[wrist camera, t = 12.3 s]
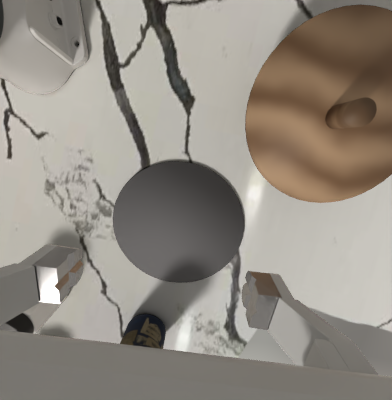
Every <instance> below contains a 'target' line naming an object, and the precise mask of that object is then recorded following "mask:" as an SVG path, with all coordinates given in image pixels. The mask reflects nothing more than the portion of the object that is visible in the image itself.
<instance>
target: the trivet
mask: <svg viewBox="0 0 392 400" xmlns="http://www.w3.org/2000/svg"><path fill="white" fill-rule="evenodd" d="M113 227H114V233H115V236H116V239H117V242H118V244H119V246H120V248H121V250H122V251H123V253H124V254H125V256H126V257H127V258H128V259H129V260H130V261H131V262H132V263H133V264H134V265H135V266H136V267H137V268H139V269H140V270H141V271H143V272H145V273H146V274H148V275H150V276H153V277H155V278H158V279H161V280H165V281H169V282H193V281H197V280H201V279H204V278H207V277H209V276H211V275H213V274H215V273H217V272H218V271H220V270H221V269H222V268H223V267H225V266H226V265H227V264H228V263H229V262H230V261H231V259H232V258H233V257H234V255H235V254H236V252H237V250H238V248H239V246H240V244H241V241H242V237H243V232H244V218H243V212H242V208H241V205H240V203H239V200H238V198H237V196H236V195H235V193H234V191H233V190H232V189H231V187H230V186H229V185H228V184H227V183H226V182H225V181H224V180H223V179H222V178H221V177H220V176H218V175H217V174H216V173H214V172H213V171H211V170H209V169H207V168H205V167H202V166H200V165H197V164H193V163H188V162H179V161H175V162H165V163H159V164H156V165H153V166H150V167H148V168H146V169H144V170H142V171H141V172H139V173H138V174H136V175H135V176H134V177H133V178H131V179H130V180H129V181H128V182H127V184H126V185H125V186H124V187H123V189H122V190H121V192H120V194H119V196H118V198H117V200H116V203H115V207H114V213H113Z"/></svg>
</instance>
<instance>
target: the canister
mask: <svg viewBox="0 0 392 400" xmlns="http://www.w3.org/2000/svg"><path fill="white" fill-rule="evenodd" d="M165 334H166V330H165V326H164V324H163V323H162V321H161V320H160V319H158V318H157V317H155V316H152V315H148V314H143V315H138V316H136V317H134V318H133V319H132V320H131V321H130V322H129V324H128V326H127V328H126V331H125V333H124V336H123V338H122V340H121V343H120V344H125V345H133V346H141V347H150V348H158V349H163V345H164V340H165Z"/></svg>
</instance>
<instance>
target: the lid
mask: <svg viewBox="0 0 392 400" xmlns="http://www.w3.org/2000/svg"><path fill="white" fill-rule="evenodd" d="M245 130H246V139H247V144H248V148H249V152H250V154H251V157H252V159H253V162H254V163H255V165H256V167H257V169H258V170H259V172H260V173H261V174H262V176H263V177H264V178H265V179H266V180H267V181H268V182H269V183H270V184H271V185H272V186H274V187H275V188H277V189H278V190H279V191H281V192H283V193H285V194H287V195H288V196H291V197H293V198H296V199H299V200H303V201H308V202H318V203H323V202H335V201H341V200H344V199H348V198H352V197H354V196H357V195H359V194H362V193H364V192H366V191H368V190H370V189H372V188H373V187H375V186H376V185H378V184H379V183H381V182H383V181H384V180H385V179H386V178H388V177H389V176H390V175H391V174H392V11H390V10H388V9H385V8H381V7H377V6H370V5H351V6H344V7H340V8H335V9H332V10H329V11H326V12H324V13H321V14H319V15H317V16H315V17H313V18H311V19H310V20H308V21H306V22H304V23H303V24H302V25H300V26H299V27H298V28H296V29H295V30H293V31H292V32H291V33H290V34H289V35H288V36H287V37H286V38H285V39H284V40H283V41H282V42H281V43H280V44H279V45H278V46H277V47H276V49H275V50H274V51H273V52H272V53H271V55H270V56H269V57H268V59H267V60H266V62H265V63H264V65H263V66H262V68H261V70H260V72H259V74H258V76H257V77H256V79H255V82H254V85H253V87H252V90H251V92H250V96H249V100H248V104H247V111H246V123H245Z"/></svg>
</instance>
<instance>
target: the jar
mask: <svg viewBox="0 0 392 400" xmlns="http://www.w3.org/2000/svg"><path fill="white" fill-rule="evenodd" d="M66 298H67V296H66V297H65V298H64V299H63V300H62V302H61V303H60V304H59V303H48V302H39V303H38V304H36V305H35V306H33V307H31V308H30V309H28V310H26V311H24V312H23V313H21V314H19V315H18V316H16V317H14V318H13V319H11V320H9V321H7V322H6V323H4V324H2V325H1V326H0V330H8V331H16V332H24V333H33V334H36V333H37V332H38V331H39V330H40V328H41V327H42V326H43V325H44V324H45V323H46V321H47V320H48V319H49V318H50V317H51V316H52V314H53V313H54V312H55V311H56V310H57V309H58V308H59V306H60V305H61V304H62V303H63V302H64V301H65V299H66Z"/></svg>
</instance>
